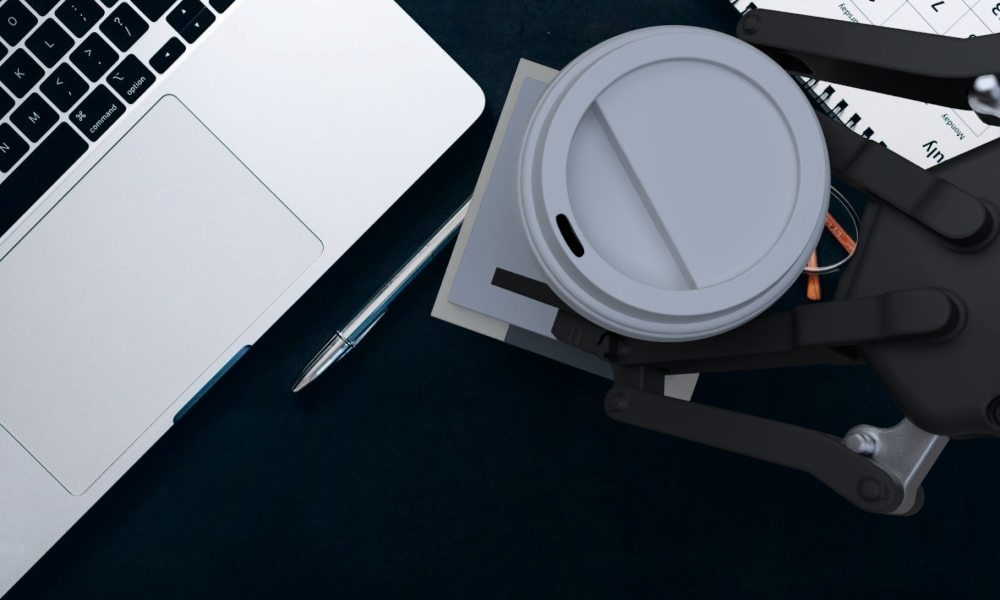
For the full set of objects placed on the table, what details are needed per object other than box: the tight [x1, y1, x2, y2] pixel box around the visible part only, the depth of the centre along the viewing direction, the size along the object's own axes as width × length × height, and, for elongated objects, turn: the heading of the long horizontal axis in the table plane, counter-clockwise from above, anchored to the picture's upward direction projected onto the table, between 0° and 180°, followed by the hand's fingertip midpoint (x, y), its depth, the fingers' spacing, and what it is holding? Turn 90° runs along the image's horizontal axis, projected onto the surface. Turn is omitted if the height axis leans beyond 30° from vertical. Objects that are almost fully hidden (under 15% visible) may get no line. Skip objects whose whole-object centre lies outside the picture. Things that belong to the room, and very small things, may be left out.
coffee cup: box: [512, 24, 832, 342], centre depth 30 cm, size 10×10×15 cm
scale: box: [430, 57, 701, 401], centre depth 42 cm, size 14×14×3 cm
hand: (548, 191), depth 34 cm, fingers closed on coffee cup, 7 cm apart
